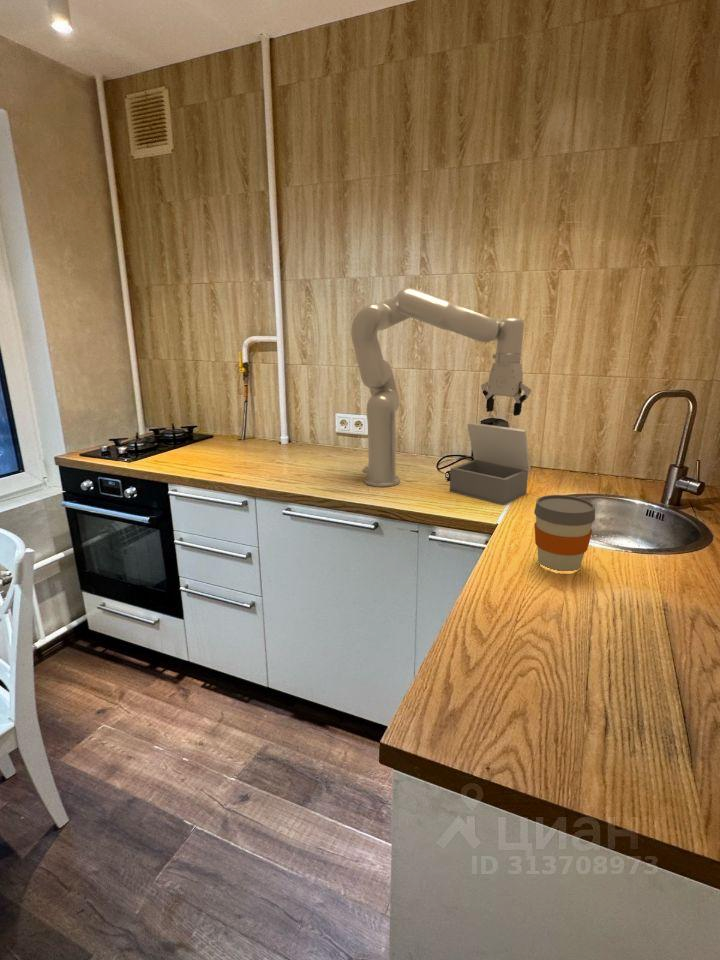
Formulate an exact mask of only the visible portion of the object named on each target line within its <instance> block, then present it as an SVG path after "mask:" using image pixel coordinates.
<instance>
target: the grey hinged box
mask: <svg viewBox="0 0 720 960" xmlns="http://www.w3.org/2000/svg"><path fill="white" fill-rule="evenodd" d="M449 474H450V476H449V478H450V479H449V492H450V493H451V492H452V493H454V494H459V495H463V496H467V497H471V498H475V499H478V500H483V501H486V502H491V503H493V504H499V505H502V506H505V505H507V504H509V503H511V502H513V501H516V500H517V498H518V499H519V497H520V498H522V497H524V496H525V494H526V495H527V489H528V476H529V470H525V469H518V468H512V467H507V466H502V465H497V464H494V463H489V462H483V461H478V460H474V459H473V460H471V461H467V462H465V463H462V464H458V465H455V466H453V467H450V473H449ZM523 495H524V496H523ZM521 496H522V497H521Z"/></svg>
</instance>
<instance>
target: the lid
mask: <svg viewBox="0 0 720 960" xmlns="http://www.w3.org/2000/svg"><path fill="white" fill-rule="evenodd" d="M466 426H467V430H468V436H469V440H470V446H471V451H472V455H473V460H476V461H482V462H487V463H492V464H499V465H504V466H509V467H515V468H520V469H523V470H528V471H530V470H531V462H530V454H529V447H528V440H527V439H528V438H527V431H526V429H521V428H514V427H510V424H509V422H506V421H499V422H498V423H497V424H496V425H491V424H486V423H485V424H484V423H479V422H478V423H475V422H470V421H468V422H467V424H466Z"/></svg>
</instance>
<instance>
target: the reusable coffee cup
mask: <svg viewBox="0 0 720 960" xmlns="http://www.w3.org/2000/svg"><path fill="white" fill-rule="evenodd" d="M533 513H534V516H535V523H534V525H533V526H534V542H535V545H536V546H537V562H538V561H539V563H540V564H541V565H543V566H545V567H547V568H550V569H553V570H557V571H574V570H578V569H579V568H580V569H581V567H582V562H583V559H584V556H585V555H584V554H585V553H586V552H587V551H588V548H589V544H590V540H591V537H592V534H593V530H592V526H593V523H594V521H595V519H596V505H595V504H594V503H593V502H592V501H590V500H588V499H585V498H582V497H578V496H573V495H568V494H567V495H565V494H549V495H542V496H540V497H539V498H537V499H536V502H535V507H534V512H533Z"/></svg>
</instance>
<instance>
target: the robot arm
mask: <svg viewBox="0 0 720 960" xmlns="http://www.w3.org/2000/svg"><path fill="white" fill-rule="evenodd" d="M408 319H414V320H417V321H420V322H422V323H425V324H428V325H431V326H434V327H435V328H439V329H441V330H444V331H445V330H446V331H450V332H453V333H456V334H458V335H460V336H464V337H467V338H469V339H471V340H474V341H477V342H479V343H490V342H492V341H497V342H496V352H495V354H493V355H492V359H493V360H494V361H495V362H492V365H491V368H490V371H489V376H488V381H487V382H484V383H482V384H480V388H481V391H482V394H483V395H484V398H485V399H486V404H485V405H486V406H485V408H486V412H489V413H490V412H493V411H494V407H495V398H494V397H496V396H502V397H513V398H514V401H515V402H514V404H513V416H514V417H515V416H516V417H517V416H520V415H521V413H522V406H523V403H524V402H525V401H526V400H527V399H528V398H529V396H530V394H531V392H532V389H531V388H530V387H528V386H527V385H526V384H524V383H523V377H524V375H523V374H524V373H523V371H524V370H523V365H522V363H521V359H522V358H521V357H522V347H523V337H524V329H525V328H524V327H525V322H524V319H522V318H518V317H504V318H494V317H491V316H487V315H485V314H482V313H479V312H478V311H477V312H476V311H473V310H472V309H468V308H465V307H463V306H460V305H458V304H456V303H455V302H452V301H450V300H448V299H445V298H442V297H439V296H436V295H434V294H431V293H428V292H426V291H423V290H419V289H417V288H413V287H409V286H408V287H404V288H402V289H400V290H399V291H398V293H397V294H396V295H394V296H393V297H390V298H389V299H386V300H385V301H383V302H380V303H379V302H372V303H371V302H370V303H369V304H366V305H365V306H363V307H362V308H361V309H360V310H359V311H358V312H357V313H356V314H355V317H354V318H353V321H352V324H351V330H350V331H351V335H350V336H351V340H352V341H351V342H352V345H353V350H354V354H355V356H356V358H355V359H356V361H357V366H358V370H359V374H360V379H361V381H362V384H363V385H364V386H365V387H366V388H368V389H369V392H370V398H369V399H368V402H367V403H366V421H367V438H368V439H367V441H368V442H367V445H368V447H367V448H368V466H367V465H366V466H364V467H363V468H362V470H361V472H362V473H363V474H366V476H365V477H364V483H365V484H366V485H368V486H372V487H381V488H382V487H392V486H396V485H398V484H400V482H401V478H400V476H397V473H396V468H397V465H396V460H397V459H396V456H397V454H396V451H397V450H396V448H397V446H396V445H397V440H396V439H397V438H396V436H397V435H396V434H397V431H396V412H397V411H398V409H399V406H400V397H399V393H398V388H397V385H396V379H395V376H394V372H393V369H392V367H391V365H390V364H389V363H388V361H387V360H385V359H384V357H383V354H382V350H381V344H380V341H379V340H378V339H379V337H378V332H379V331H383V330H386V329H388V328H391V327H393V326H395V325H397V324H399V323H402V322H404V321H406V320H408ZM523 391H524V393H523ZM522 393H523V394H522Z"/></svg>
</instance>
